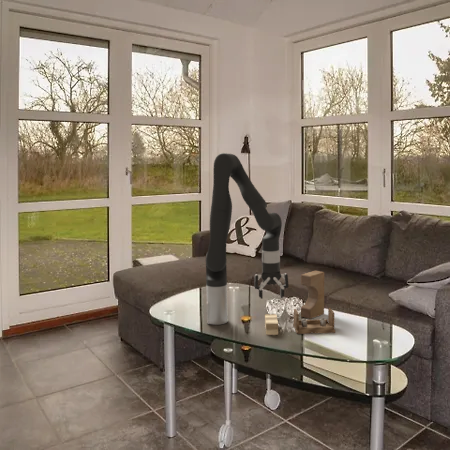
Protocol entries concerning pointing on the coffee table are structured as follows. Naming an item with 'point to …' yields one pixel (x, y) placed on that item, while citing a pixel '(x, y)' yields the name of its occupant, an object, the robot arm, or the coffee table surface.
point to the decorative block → (313, 294)
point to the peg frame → (314, 324)
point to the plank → (271, 324)
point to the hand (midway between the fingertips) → (271, 297)
